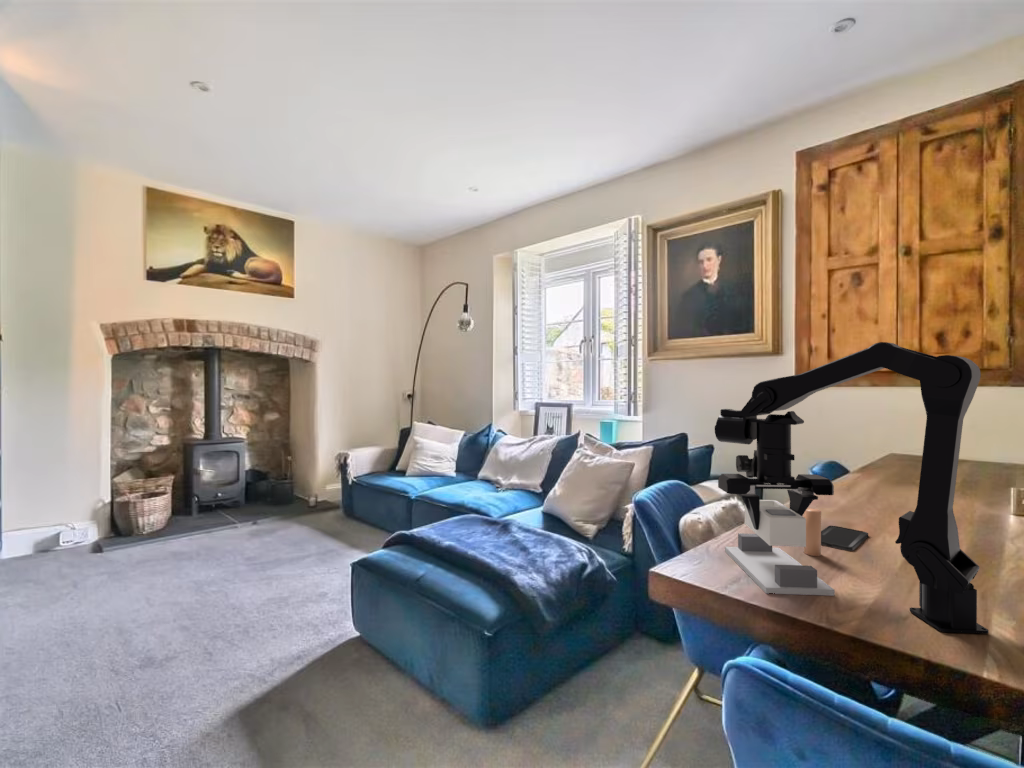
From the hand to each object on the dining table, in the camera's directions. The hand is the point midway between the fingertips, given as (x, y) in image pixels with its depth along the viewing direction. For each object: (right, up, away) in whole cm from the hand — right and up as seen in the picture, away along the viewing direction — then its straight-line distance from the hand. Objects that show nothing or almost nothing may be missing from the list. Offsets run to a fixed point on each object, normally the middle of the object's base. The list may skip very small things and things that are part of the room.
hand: (774, 529), depth 91 cm
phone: (+25, -8, +18) cm, 32 cm away
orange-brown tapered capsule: (+13, -8, +9) cm, 17 cm away
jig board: (0, -8, 0) cm, 8 cm away
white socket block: (0, -1, 0) cm, 1 cm away
